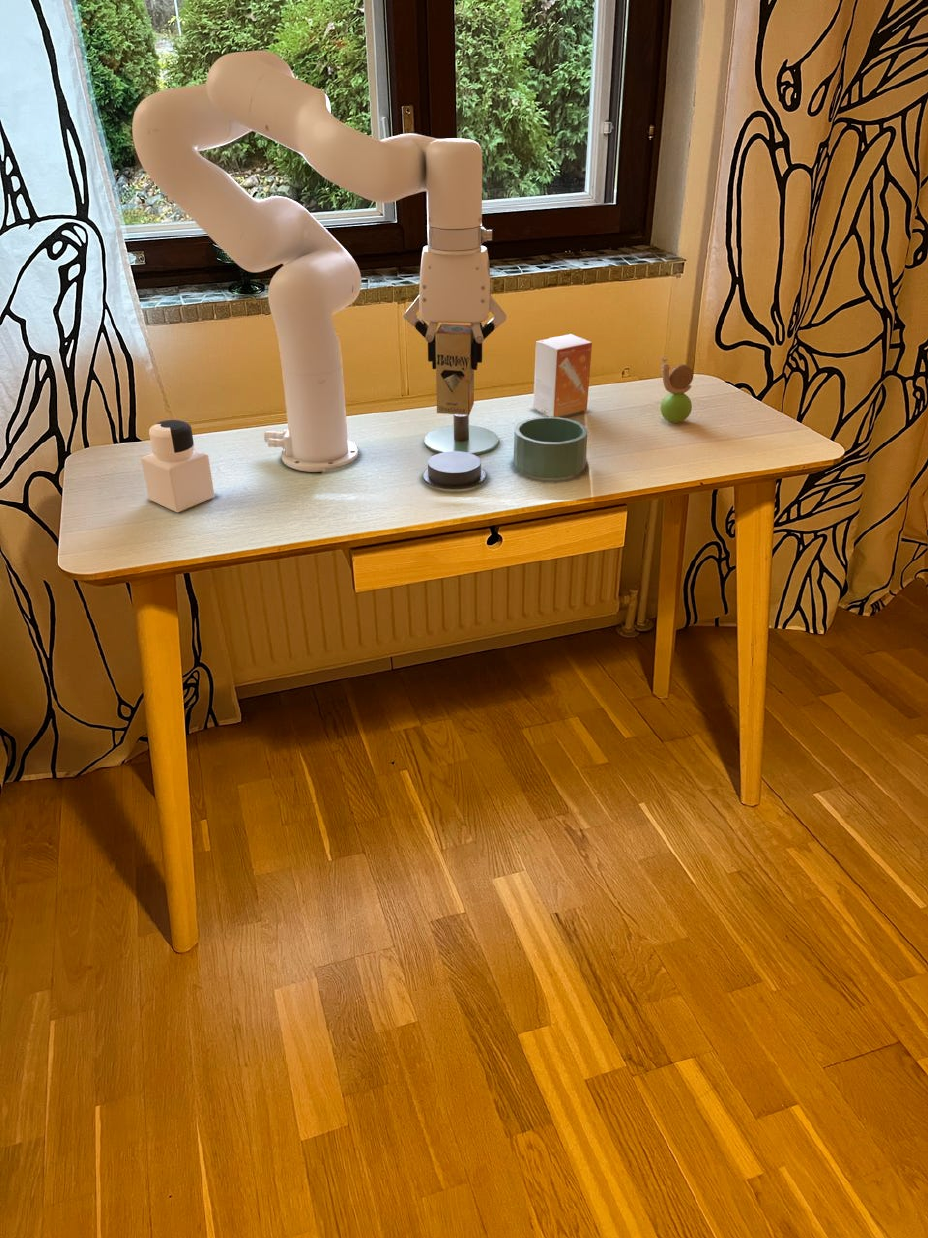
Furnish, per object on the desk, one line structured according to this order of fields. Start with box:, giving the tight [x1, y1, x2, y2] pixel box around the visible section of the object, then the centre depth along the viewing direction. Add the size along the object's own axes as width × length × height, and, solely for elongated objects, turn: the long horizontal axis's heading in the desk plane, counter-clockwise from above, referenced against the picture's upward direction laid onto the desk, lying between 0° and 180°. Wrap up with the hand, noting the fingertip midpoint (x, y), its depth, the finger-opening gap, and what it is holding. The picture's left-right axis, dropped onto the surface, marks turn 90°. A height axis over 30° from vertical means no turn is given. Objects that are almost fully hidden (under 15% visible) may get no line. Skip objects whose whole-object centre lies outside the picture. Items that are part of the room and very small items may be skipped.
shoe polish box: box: [435, 323, 475, 416], centre depth 145 cm, size 5×5×12 cm
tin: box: [513, 416, 588, 479], centre depth 157 cm, size 12×12×6 cm
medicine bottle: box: [141, 419, 215, 513], centre depth 145 cm, size 7×7×12 cm
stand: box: [422, 451, 487, 491], centre depth 154 cm, size 10×10×3 cm
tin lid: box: [423, 414, 499, 456], centre depth 165 cm, size 13×13×6 cm
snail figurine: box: [660, 356, 694, 424], centre depth 171 cm, size 5×6×12 cm
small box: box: [532, 333, 593, 417], centre depth 176 cm, size 8×6×13 cm
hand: (455, 365), depth 145 cm, fingers closed on shoe polish box, 5 cm apart
